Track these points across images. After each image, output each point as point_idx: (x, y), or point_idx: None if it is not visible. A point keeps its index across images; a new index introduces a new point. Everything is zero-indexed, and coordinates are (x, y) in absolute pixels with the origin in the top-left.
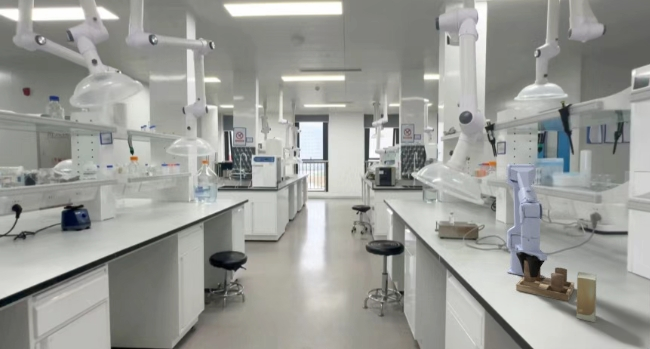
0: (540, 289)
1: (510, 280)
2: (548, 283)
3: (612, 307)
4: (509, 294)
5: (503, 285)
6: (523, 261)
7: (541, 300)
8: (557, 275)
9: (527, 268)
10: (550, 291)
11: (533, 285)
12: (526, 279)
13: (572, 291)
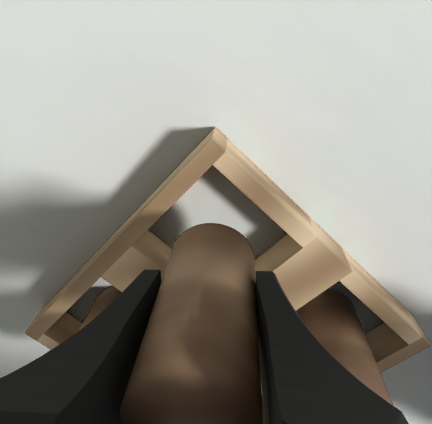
0: (105, 250)
1: (424, 205)
2: None
3: None
4: (121, 10)
5: (331, 81)
6: (269, 370)
7: (30, 184)
8: None
9: (166, 310)
10: (72, 284)
11: None
12: (190, 234)
13: None
